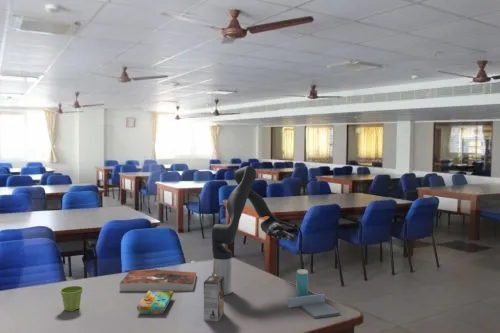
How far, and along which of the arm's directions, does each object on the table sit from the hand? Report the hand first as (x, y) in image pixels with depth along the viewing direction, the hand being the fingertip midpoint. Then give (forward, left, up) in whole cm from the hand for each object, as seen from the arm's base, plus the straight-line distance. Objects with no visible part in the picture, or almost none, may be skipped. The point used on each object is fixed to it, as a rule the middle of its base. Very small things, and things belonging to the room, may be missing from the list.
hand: (284, 238), depth 216 cm
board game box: (-56, +31, -27) cm, 70 cm away
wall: (+1, -21, -26) cm, 34 cm away
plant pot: (-98, +8, -26) cm, 101 cm away
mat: (+3, -30, -26) cm, 40 cm away
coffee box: (-42, -21, -26) cm, 53 cm away
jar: (+3, -13, -26) cm, 29 cm away
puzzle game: (-63, -1, -27) cm, 68 cm away
